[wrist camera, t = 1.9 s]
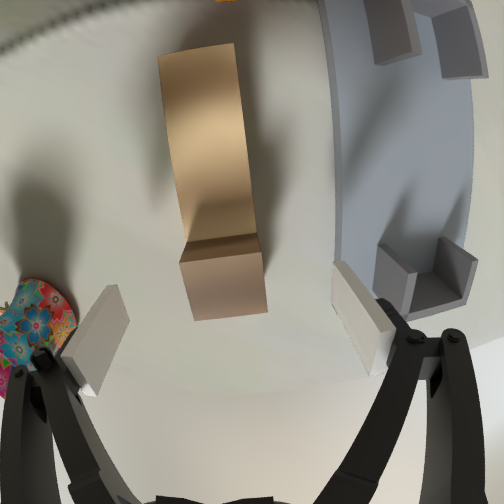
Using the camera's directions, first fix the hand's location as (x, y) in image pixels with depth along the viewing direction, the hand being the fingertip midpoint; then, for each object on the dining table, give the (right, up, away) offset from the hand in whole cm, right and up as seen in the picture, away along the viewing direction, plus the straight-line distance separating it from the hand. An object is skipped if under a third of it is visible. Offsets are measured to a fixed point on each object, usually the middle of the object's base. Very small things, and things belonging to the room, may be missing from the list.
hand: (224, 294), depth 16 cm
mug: (-21, -3, +7) cm, 23 cm away
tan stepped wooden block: (-1, +8, +4) cm, 9 cm away
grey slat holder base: (+15, +12, +3) cm, 19 cm away
